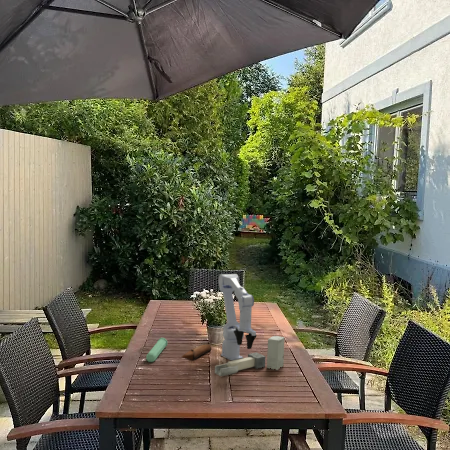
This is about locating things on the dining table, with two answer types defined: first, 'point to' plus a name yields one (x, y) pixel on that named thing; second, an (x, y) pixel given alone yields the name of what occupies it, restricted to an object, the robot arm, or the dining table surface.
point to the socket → (258, 360)
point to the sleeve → (225, 369)
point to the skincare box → (275, 352)
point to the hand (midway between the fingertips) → (244, 346)
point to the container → (156, 350)
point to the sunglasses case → (197, 352)
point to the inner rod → (243, 363)
